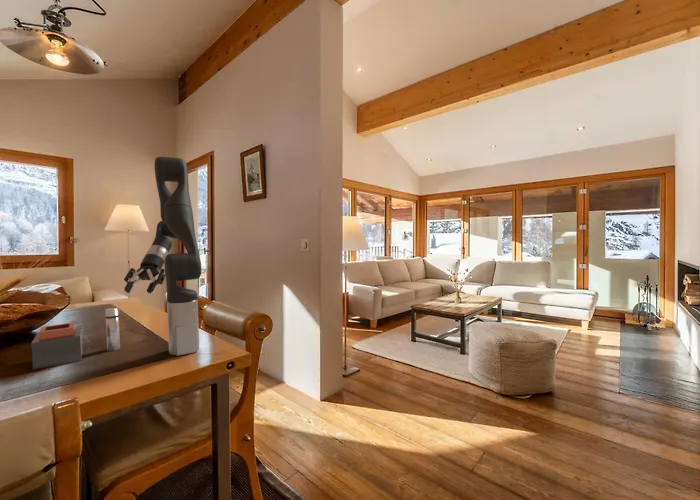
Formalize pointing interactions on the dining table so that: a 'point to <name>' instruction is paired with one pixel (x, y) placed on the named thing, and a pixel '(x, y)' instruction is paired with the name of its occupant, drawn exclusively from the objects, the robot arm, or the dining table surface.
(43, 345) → the block
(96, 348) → the dining table surface
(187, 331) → the robot arm
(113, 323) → the steel tube
